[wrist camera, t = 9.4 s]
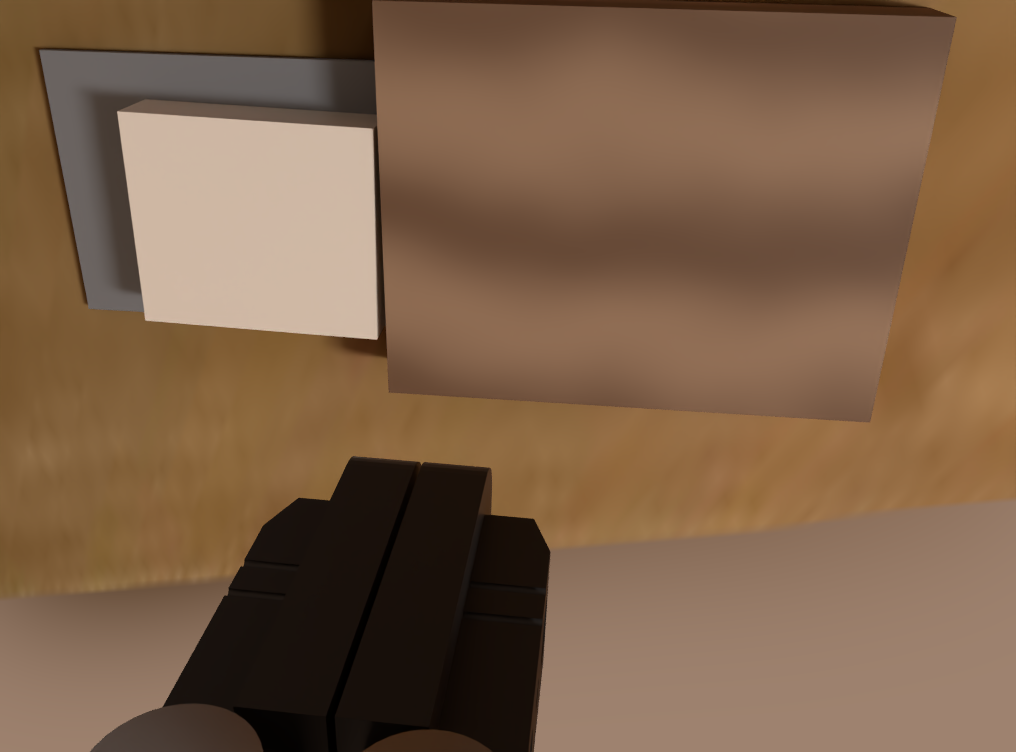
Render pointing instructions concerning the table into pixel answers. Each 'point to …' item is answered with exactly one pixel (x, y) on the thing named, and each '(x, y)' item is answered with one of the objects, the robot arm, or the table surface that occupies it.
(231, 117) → the tile
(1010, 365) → the table surface
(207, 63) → the mat
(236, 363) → the table surface
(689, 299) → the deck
